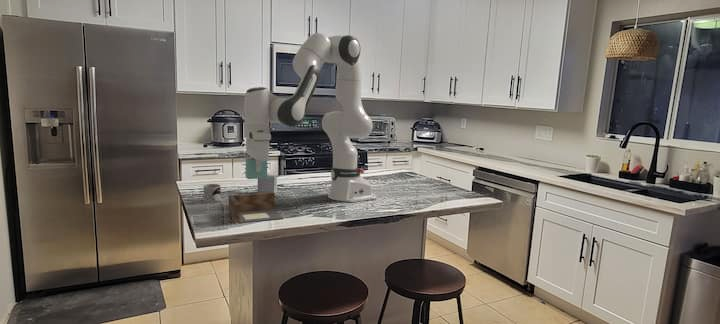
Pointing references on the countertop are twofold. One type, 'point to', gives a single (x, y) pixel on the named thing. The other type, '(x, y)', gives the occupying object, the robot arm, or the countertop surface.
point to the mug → (212, 193)
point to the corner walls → (250, 203)
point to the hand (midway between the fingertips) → (256, 169)
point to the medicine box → (268, 184)
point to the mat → (259, 216)
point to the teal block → (251, 169)
